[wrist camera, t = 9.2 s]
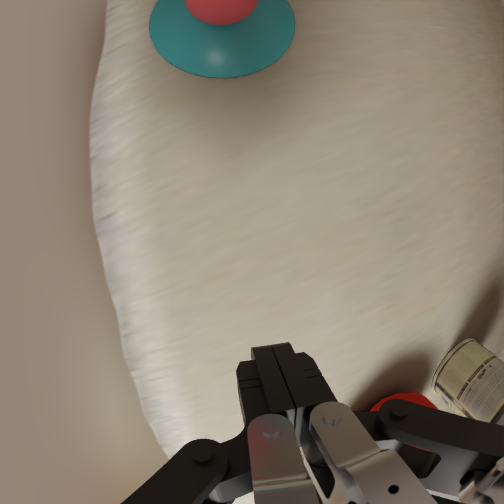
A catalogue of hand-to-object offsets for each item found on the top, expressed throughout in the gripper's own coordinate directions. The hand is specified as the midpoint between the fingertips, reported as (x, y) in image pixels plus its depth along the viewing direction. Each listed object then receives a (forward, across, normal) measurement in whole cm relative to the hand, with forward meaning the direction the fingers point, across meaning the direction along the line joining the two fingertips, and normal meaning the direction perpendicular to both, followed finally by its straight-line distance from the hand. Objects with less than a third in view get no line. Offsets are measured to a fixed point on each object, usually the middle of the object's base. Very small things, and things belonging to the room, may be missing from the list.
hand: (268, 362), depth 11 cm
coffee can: (+13, -32, +20) cm, 40 cm away
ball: (+10, 0, -22) cm, 24 cm away
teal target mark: (+13, 0, -21) cm, 24 cm away
